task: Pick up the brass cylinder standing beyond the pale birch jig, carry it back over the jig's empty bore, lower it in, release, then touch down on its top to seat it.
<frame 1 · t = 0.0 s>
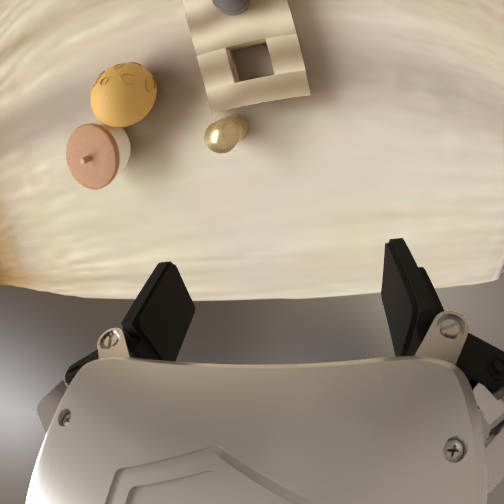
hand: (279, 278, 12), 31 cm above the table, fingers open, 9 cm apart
stress ball: (141, 91, 36), on the table
lidded jar: (116, 144, 41), on the table
brass cylinder: (234, 127, 38), on the table
jig: (247, 38, 29), on the table
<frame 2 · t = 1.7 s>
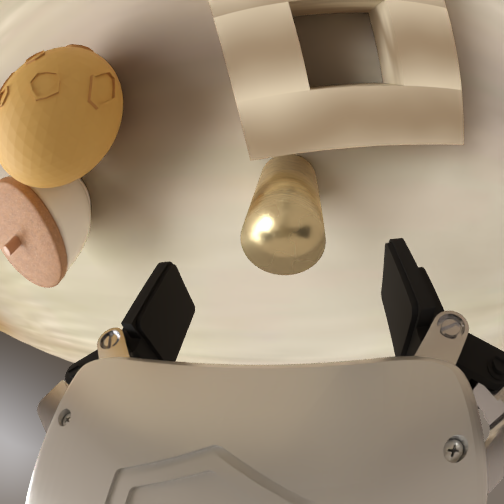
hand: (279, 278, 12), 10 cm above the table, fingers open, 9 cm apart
stress ball: (101, 101, 17), on the table
lidded jar: (70, 195, 23), on the table
brass cylinder: (288, 180, 19), on the table
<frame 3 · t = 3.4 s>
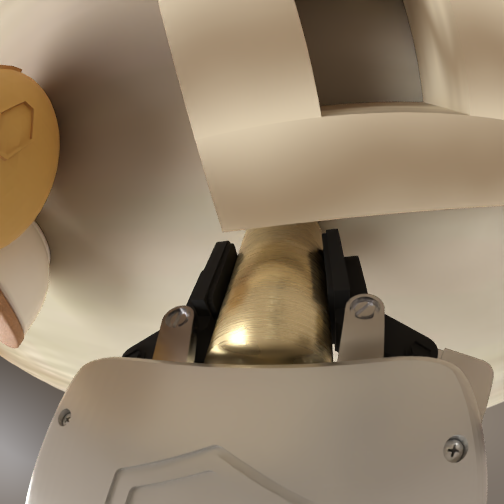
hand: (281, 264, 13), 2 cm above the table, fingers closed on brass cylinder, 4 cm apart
stress ball: (45, 130, 12), on the table
lidded jar: (29, 238, 18), on the table
brass cylinder: (284, 239, 14), on the table, touching gripper
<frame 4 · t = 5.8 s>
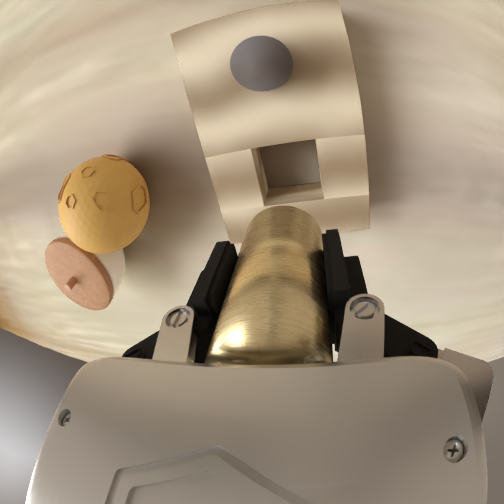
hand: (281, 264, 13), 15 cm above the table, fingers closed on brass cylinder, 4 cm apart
stress ball: (129, 184, 29), on the table
lidded jar: (106, 242, 35), on the table
brass cylinder: (284, 240, 14), point 13 cm above the table, touching gripper
jig: (281, 119, 23), on the table
when the fingers open (5 cm above the table, at t = 8.4 s): brass cylinder drops 2 cm, resting in jig.
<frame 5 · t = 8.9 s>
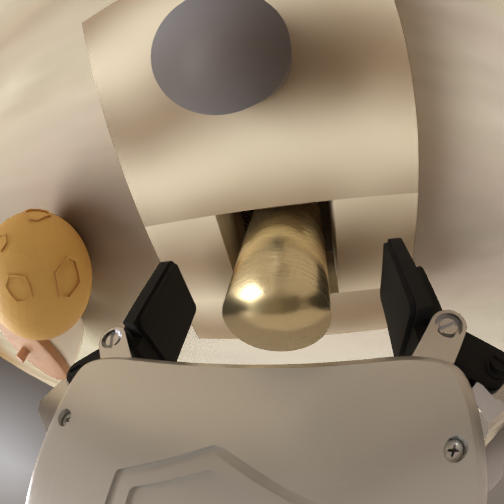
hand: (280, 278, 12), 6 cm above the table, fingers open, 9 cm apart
stress ball: (72, 238, 20), on the table
lidded jar: (62, 298, 26), on the table
brass cylinder: (286, 216, 16), resting in jig
jig: (273, 152, 14), on the table
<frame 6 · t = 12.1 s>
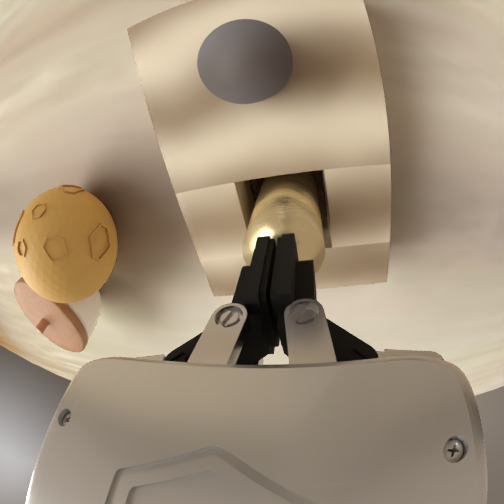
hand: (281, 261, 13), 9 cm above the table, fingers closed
stress ball: (98, 215, 24), on the table
lidded jar: (81, 275, 29), on the table
brass cylinder: (288, 190, 20), resting in jig
jig: (278, 138, 18), on the table
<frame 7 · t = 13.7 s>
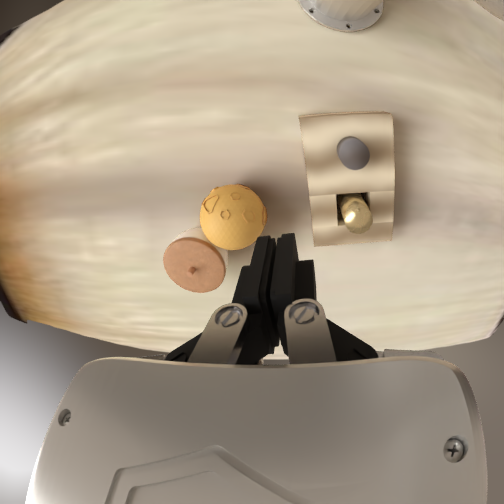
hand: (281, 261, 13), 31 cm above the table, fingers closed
stress ball: (239, 203, 46), on the table
lidded jar: (205, 242, 51), on the table
brass cylinder: (349, 198, 42), resting in jig
jig: (348, 175, 40), on the table
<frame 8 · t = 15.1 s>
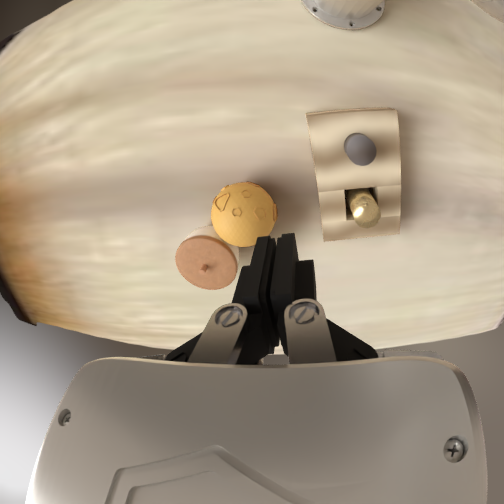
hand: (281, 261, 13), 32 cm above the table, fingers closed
stress ball: (249, 200, 47), on the table
lidded jar: (216, 240, 52), on the table
brass cylinder: (357, 193, 43), resting in jig
jig: (355, 170, 40), on the table
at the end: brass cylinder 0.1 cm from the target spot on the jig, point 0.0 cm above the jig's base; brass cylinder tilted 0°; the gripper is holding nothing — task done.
